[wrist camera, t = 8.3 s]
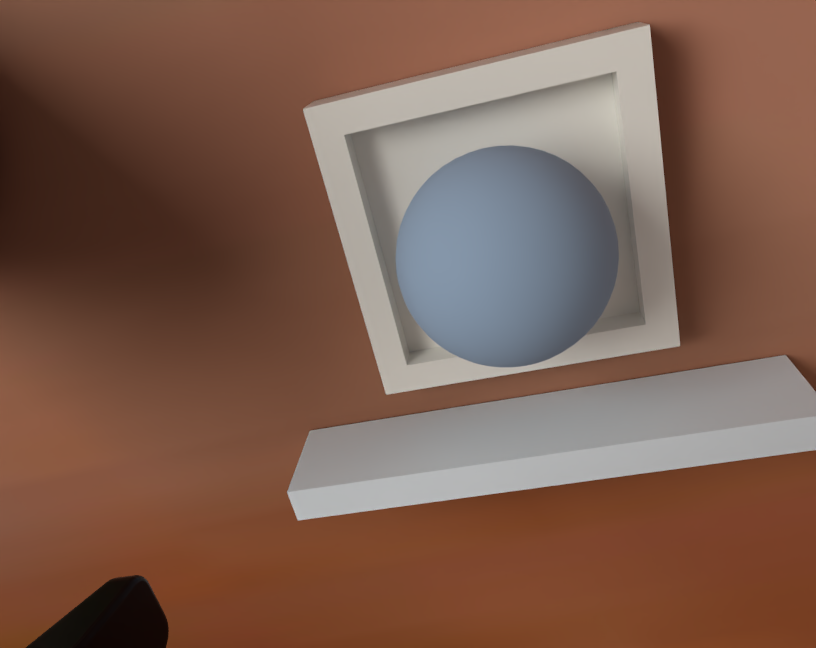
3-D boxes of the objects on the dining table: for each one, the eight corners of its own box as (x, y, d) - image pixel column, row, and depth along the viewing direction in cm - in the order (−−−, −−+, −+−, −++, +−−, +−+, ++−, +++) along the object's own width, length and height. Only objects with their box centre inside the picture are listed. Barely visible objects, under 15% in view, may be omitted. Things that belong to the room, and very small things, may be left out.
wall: (786, 385, 20) (833, 447, 18) (318, 456, 23) (297, 520, 20) (785, 354, 20) (833, 413, 17) (309, 430, 23) (287, 492, 20)
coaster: (669, 326, 20) (680, 346, 19) (390, 373, 21) (385, 394, 20) (638, 21, 17) (649, 24, 16) (313, 101, 18) (302, 109, 17)
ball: (609, 293, 19) (654, 387, 15) (427, 327, 20) (417, 427, 16) (583, 105, 17) (625, 148, 13) (382, 151, 18) (356, 207, 14)
